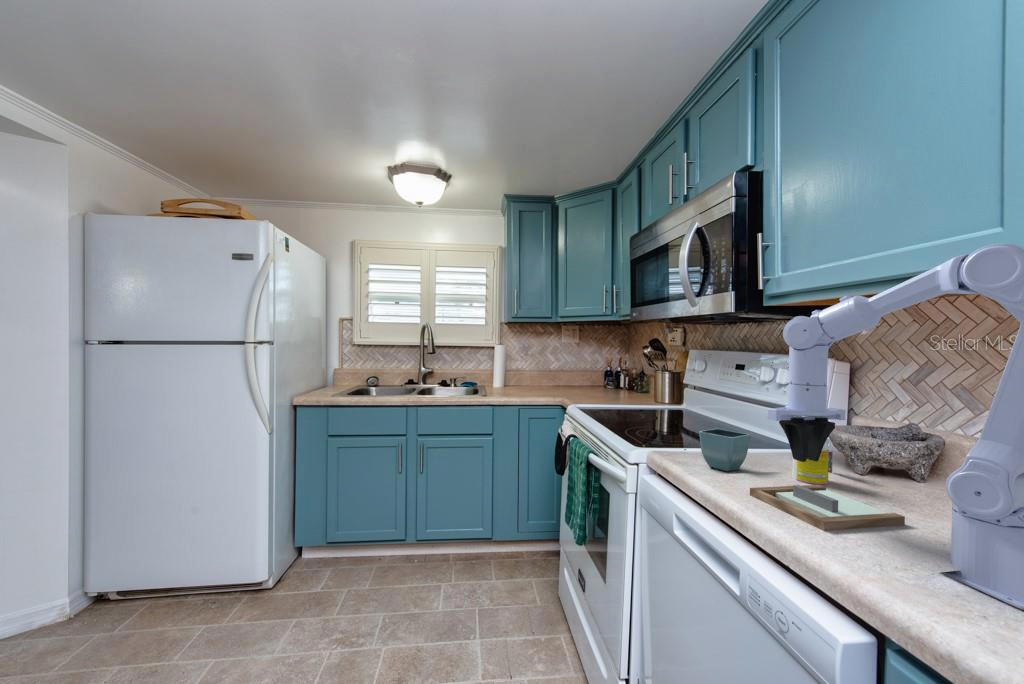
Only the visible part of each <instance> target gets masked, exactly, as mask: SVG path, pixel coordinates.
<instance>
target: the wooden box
mask: <svg viewBox="0 0 1024 684" xmlns="http://www.w3.org/2000/svg"><path fill="white" fill-rule="evenodd" d="M801 486H802V487H805V488H808V489H810V490H813V491H820V490H827V487H826V486H825V485H814V484H807V485H806V484H805V485H801ZM778 492H793V485H786V486H785V485H784V486H783V485H782V486H781V485H780V486H763V487H761V486H759V487H749V496H751V497H752V498H754V499H756V500H758V501H760V502H762V503H765V504H766V505H769V506H771V507H773V508H776V509H777V510H780V511H782V512H783V513H786V514H787V515H789V516H791V517H794V518H796V519H798V520H800V521H802V522H805V523H806V524H808V525H811V526H812V527H814V528H816V529H819V530H821V531H823V532H826V531H840V530H857V529H858V530H859V529H869V528H884V527H886V528H887V527H899V526H900V527H902V526H905V524H906V523H905V522H906V519H905V518H906V516H904V515H901V514H898V513H896V512H888V513H883V514H867V515H851V516H835V517H818V516H816V515H814V514H811V513H809V512H807V511H805V510H803V509H800V508H798V507H796V506H794V505H792V504H789V503H787V502H785V501H783V500H781V499H778V498H776V493H778Z"/></svg>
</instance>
